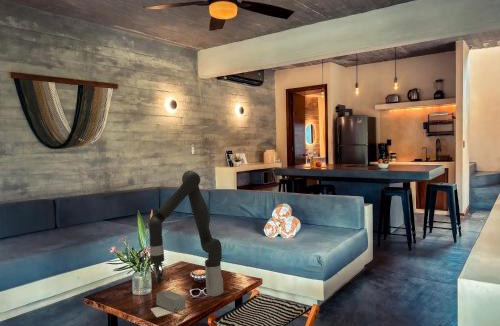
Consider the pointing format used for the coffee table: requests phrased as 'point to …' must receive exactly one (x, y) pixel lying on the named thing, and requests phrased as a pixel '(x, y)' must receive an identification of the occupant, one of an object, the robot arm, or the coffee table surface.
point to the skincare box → (170, 300)
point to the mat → (162, 311)
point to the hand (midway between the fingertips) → (158, 283)
